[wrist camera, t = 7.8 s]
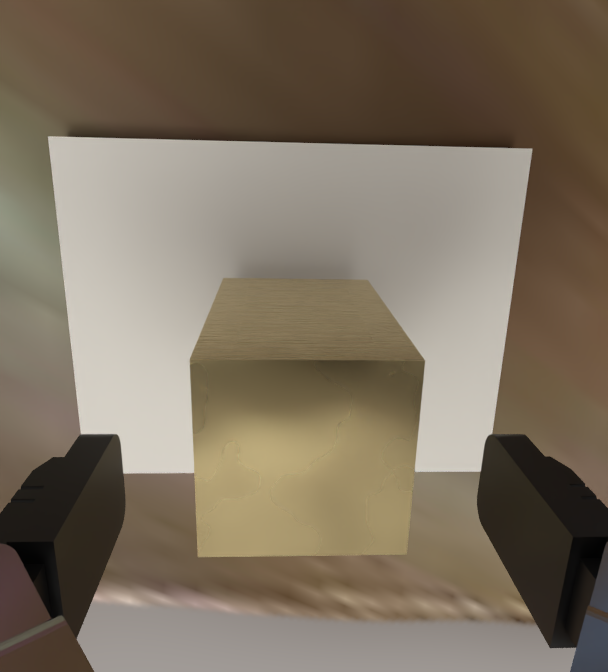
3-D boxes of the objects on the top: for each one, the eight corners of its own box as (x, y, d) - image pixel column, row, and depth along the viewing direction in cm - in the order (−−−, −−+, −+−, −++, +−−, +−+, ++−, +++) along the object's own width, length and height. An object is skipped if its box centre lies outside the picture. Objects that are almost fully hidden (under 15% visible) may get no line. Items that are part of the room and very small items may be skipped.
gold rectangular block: (367, 279, 20) (425, 360, 12) (359, 410, 21) (406, 554, 14) (223, 277, 19) (189, 359, 12) (226, 409, 21) (198, 557, 13)
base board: (511, 148, 23) (532, 148, 21) (472, 449, 28) (486, 471, 26) (67, 137, 22) (47, 136, 20) (98, 450, 27) (85, 473, 25)
